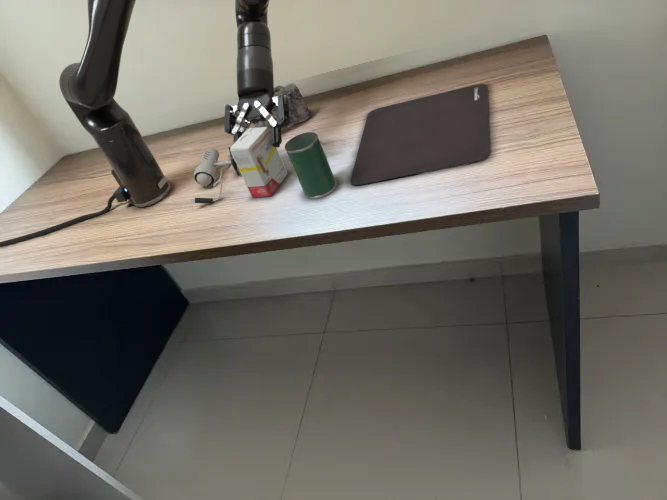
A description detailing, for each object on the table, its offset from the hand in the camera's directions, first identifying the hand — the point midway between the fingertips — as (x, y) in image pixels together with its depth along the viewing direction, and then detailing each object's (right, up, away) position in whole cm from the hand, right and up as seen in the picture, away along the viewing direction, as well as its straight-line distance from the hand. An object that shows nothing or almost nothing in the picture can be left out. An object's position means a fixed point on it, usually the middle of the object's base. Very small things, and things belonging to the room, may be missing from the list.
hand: (257, 149), depth 131 cm
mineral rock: (+4, +10, +26) cm, 28 cm away
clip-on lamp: (-9, -6, +12) cm, 17 cm away
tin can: (+13, -8, -5) cm, 16 cm away
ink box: (+2, -7, +4) cm, 8 cm away
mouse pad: (+34, +3, 0) cm, 34 cm away
